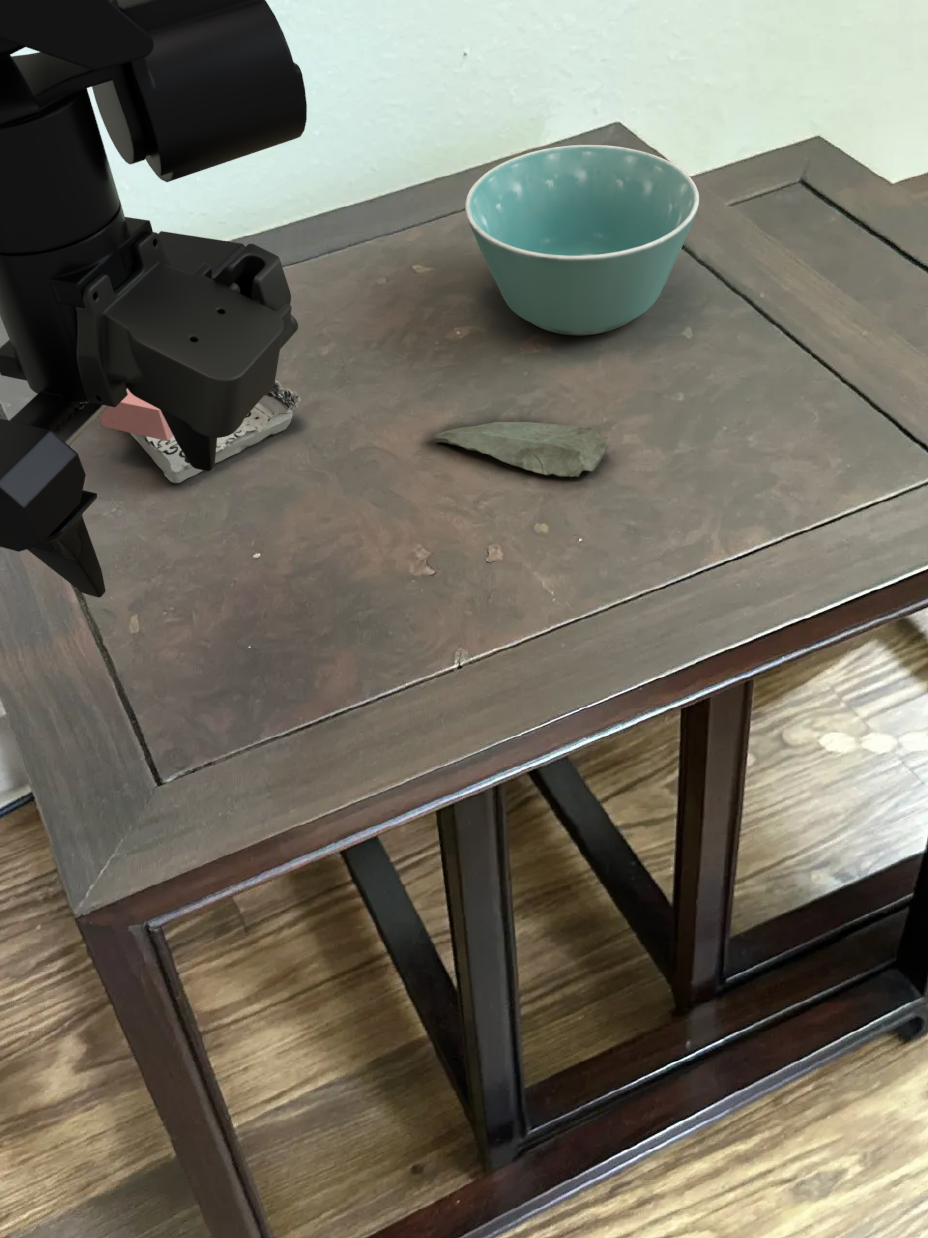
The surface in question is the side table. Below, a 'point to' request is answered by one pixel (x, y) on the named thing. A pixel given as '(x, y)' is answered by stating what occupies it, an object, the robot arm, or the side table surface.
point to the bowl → (582, 233)
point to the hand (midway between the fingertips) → (151, 527)
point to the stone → (533, 445)
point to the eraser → (136, 418)
